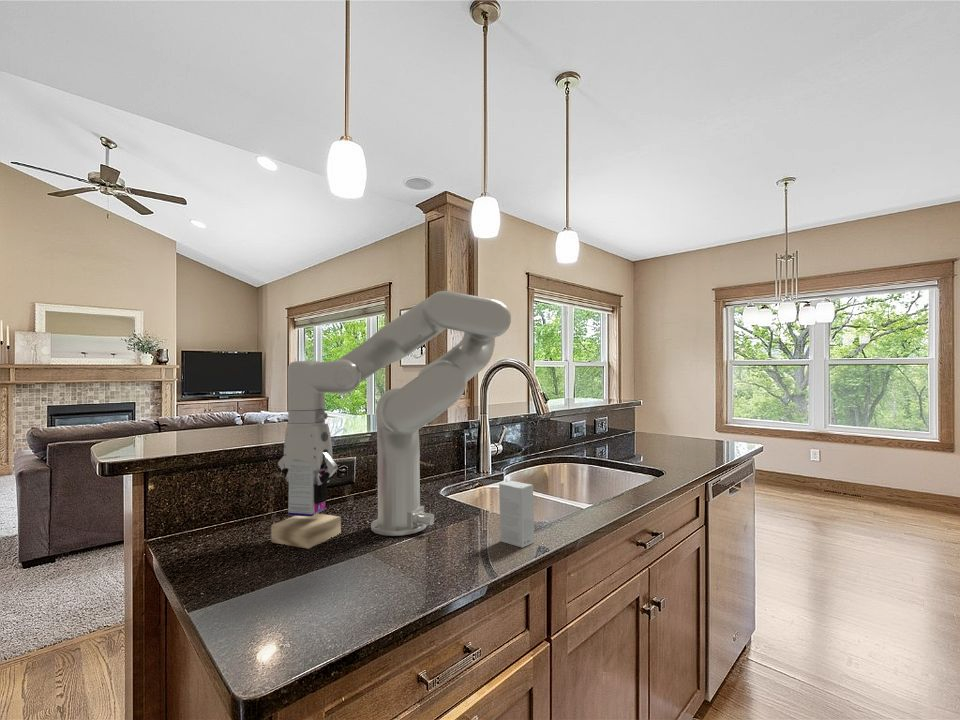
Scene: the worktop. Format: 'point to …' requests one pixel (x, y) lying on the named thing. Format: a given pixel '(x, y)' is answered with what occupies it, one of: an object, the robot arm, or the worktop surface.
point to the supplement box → (302, 490)
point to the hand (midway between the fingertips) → (307, 500)
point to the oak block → (305, 530)
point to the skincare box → (516, 513)
